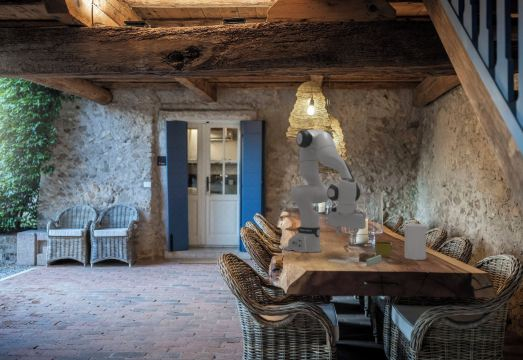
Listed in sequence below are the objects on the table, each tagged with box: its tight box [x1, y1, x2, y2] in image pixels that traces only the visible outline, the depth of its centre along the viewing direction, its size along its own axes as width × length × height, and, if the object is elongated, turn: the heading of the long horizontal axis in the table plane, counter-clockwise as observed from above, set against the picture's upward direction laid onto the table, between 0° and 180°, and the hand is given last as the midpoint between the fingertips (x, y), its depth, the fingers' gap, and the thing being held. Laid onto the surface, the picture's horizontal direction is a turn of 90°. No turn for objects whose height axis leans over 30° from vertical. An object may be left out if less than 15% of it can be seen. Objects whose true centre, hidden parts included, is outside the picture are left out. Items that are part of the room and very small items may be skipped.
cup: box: [403, 223, 427, 261], centre depth 254 cm, size 11×11×18 cm
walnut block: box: [358, 251, 376, 263], centre depth 235 cm, size 6×6×4 cm
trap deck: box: [327, 255, 382, 267], centre depth 236 cm, size 22×18×4 cm
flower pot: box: [374, 240, 393, 259], centre depth 250 cm, size 9×9×9 cm
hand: (346, 235), depth 242 cm, fingers open, 8 cm apart
